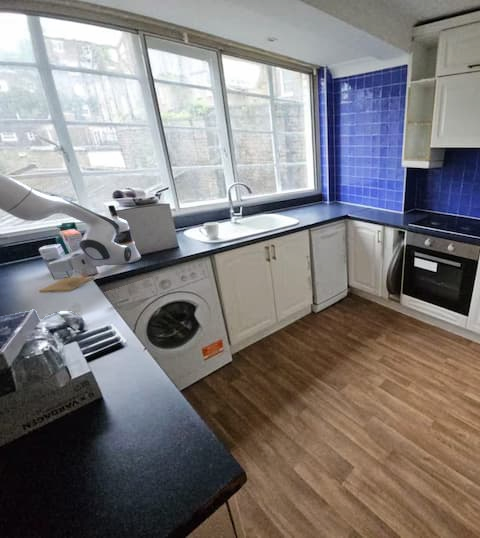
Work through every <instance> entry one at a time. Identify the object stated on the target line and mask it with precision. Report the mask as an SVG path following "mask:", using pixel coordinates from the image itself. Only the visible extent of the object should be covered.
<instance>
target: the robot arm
mask: <svg viewBox="0 0 480 538" xmlns="http://www.w3.org/2000/svg"><path fill="white" fill-rule="evenodd" d="M0 210H1V211H3V212H5V213H7V214H9V215H11V216H13V217H16V218H18V219H20V220H23V221H27V222H36V221H37V222H38V221H42V220H45V219H47V218H49V217H52V216H53V215H57V214H62V215H66V216H68V217H71V218H72V219H75V220H78V221H80V222H82V223H84V224H86V225H87V229H86V231H85V232H84V233H83V234H82V236H83V237H82V239H81V241H80V243H79V246H80V248H81V249H79V250H76V251H74V252H72V253H70V254H65V255H66V256H64V257H61V258H59V259H57V260H55V261H48V262H46V263H45V262H44V263H45V265H46V267H47V266H49V268H50V270H51V271H53V272H64V271H74V272H79V271H82V270H85V269H87V268H93V267H96V268H99V267H103V266H109V267H110V266H118V265H119V266H120V265H124V263H127V262H129V260H130V258H131V249H130V247H128V246H122V245H119V244H116V243H115V242H114V239H115V237H116V236H117V234H118V233H119V231H120V227H119V225H118V224H117V223H116V222H115V221H114V220H113V219H112V217H108V216H105V215H102V214H99V213H97V212H95V211H92V210H90V209H89V208H87V207H84V206H82V205H80V204H77V203H76V202H74V201H72V200H69V199H67V198H65V197H62V196H59V195H56V194H46V193H43V192H40V191H38V190H35V189H33V188H32V187H30V186H29V185H27V184H25V183H23V182H21V181H19V180H17V179H15V178H12V177H10V176H8V175H6V174H3V173H1V172H0ZM127 264H128V263H127Z"/></svg>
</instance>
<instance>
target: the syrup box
mask: <svg viewBox="0 0 480 538" xmlns="http://www.w3.org/2000/svg"><path fill="white" fill-rule="evenodd" d="M38 252H39V254H40V256H41V257H42V259H43V261H44V263H46V262H48V261H55V260H57V259H59V258H61V257H64V256H66V255H65V253H64V250H63V248H62V246H61V244H57V243H55V244H48V245H43V246H41V247H39V248H38ZM46 267H47V269H48V272H49V273H50V275H51V277H52V279H53V280H54V281H56V280H57V281H58V280H62V279H64V278H70V277H72V276H73V275H74V274H75V270H73V271H64V272H53V271H51V270H50V268H49V266H46Z"/></svg>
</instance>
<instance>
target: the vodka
mask: <svg viewBox="0 0 480 538" xmlns="http://www.w3.org/2000/svg"><path fill="white" fill-rule="evenodd" d="M107 208H108V210H109V213H110V215H111V219H113V220H114V221H115V222H116V223H117V224H118V225H119V227H120V231H119V233H118V234H117V236H116V237H115V239H114V241H113V242H115V243H116V244H119V245H122V246H128V247H130V249H131V258H130V260H129V262H127V263H124V264H133V263H136V262H138V261H140V260H141V259H142V256H141V254H140V253H139V250H138V248H137V246H136V241H134V237H133V235H132V232H131V229H130V226H129V223H128V221H127V220H126V219H123V218H120V216H119V215H118V211H117V209H116V207H115V205H114V204H113V205H111V204H110V205H108V206H107ZM124 264H123V265H124Z"/></svg>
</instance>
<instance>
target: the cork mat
mask: <svg viewBox="0 0 480 538" xmlns="http://www.w3.org/2000/svg"><path fill="white" fill-rule="evenodd" d="M93 277H94V276H87V277H84V276H74V277H72V276H71V277H68V278H63V279H59V280H57V281H56V282H53V283H51V284H49V285H47V286H45V287H43V288H41V289H39V290H38V292H39V293H59V292H72V291H73V290H75V289H77V288H79V287H80V285H81V284H83V283H85V282H86V283H88V282H90V281H91V280H90V279H92V278H93ZM89 280H90V281H89ZM92 280H93V279H92ZM87 281H88V282H87ZM86 283H85V284H86ZM83 285H84V284H83ZM78 286H79V287H78ZM81 286H82V285H81ZM76 287H77V288H76ZM74 288H75V289H74ZM72 289H73V290H72Z"/></svg>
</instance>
